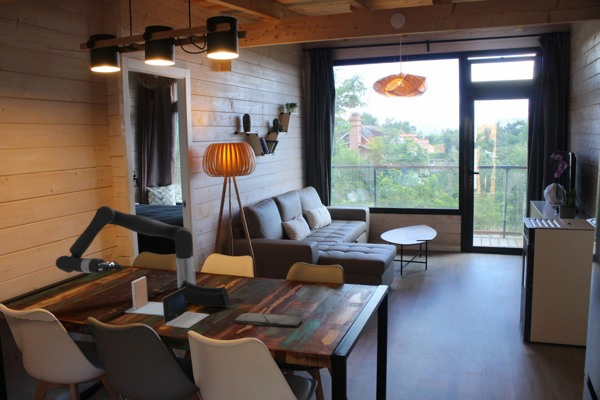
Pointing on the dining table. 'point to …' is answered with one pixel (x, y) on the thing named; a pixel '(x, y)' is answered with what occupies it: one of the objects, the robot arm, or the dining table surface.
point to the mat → (149, 309)
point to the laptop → (179, 310)
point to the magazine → (206, 295)
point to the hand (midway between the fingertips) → (122, 267)
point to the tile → (139, 293)
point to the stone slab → (268, 320)
